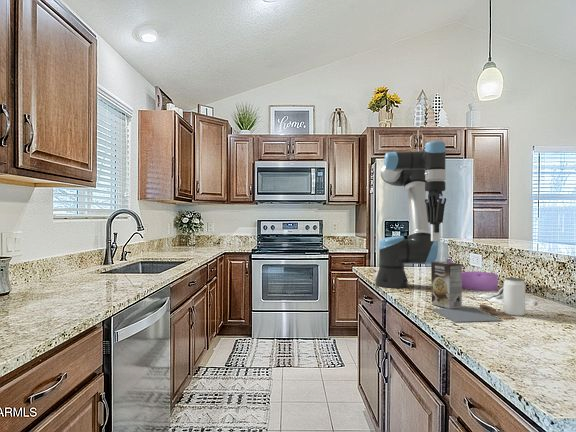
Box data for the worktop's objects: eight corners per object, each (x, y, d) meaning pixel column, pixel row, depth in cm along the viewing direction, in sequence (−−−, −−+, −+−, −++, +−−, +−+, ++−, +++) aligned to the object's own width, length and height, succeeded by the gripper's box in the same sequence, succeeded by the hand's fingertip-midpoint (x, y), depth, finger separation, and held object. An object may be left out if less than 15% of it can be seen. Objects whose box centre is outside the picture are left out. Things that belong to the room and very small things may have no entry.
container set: (488, 284, 184) (488, 257, 184) (504, 291, 169) (504, 261, 169) (435, 284, 186) (435, 257, 186) (446, 290, 171) (446, 261, 171)
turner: (477, 307, 139) (477, 304, 139) (486, 307, 139) (486, 304, 139) (504, 319, 124) (504, 316, 124) (514, 319, 124) (514, 315, 124)
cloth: (547, 307, 142) (547, 291, 142) (497, 307, 142) (497, 291, 142) (512, 294, 164) (513, 280, 164) (469, 294, 164) (469, 280, 164)
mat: (431, 309, 136) (431, 308, 136) (473, 308, 138) (473, 307, 138) (455, 322, 120) (455, 321, 120) (502, 321, 122) (502, 320, 122)
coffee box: (430, 304, 144) (430, 261, 144) (443, 302, 146) (443, 261, 147) (449, 309, 136) (449, 264, 136) (462, 307, 138) (462, 263, 138)
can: (505, 310, 135) (505, 276, 135) (526, 313, 131) (526, 278, 131) (501, 314, 130) (501, 279, 130) (523, 317, 126) (523, 281, 126)
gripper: (418, 182, 156) (418, 239, 156) (434, 179, 143) (433, 242, 143) (436, 182, 156) (436, 239, 156) (453, 179, 143) (452, 242, 144)
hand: (435, 240), depth 150 cm, fingers closed
